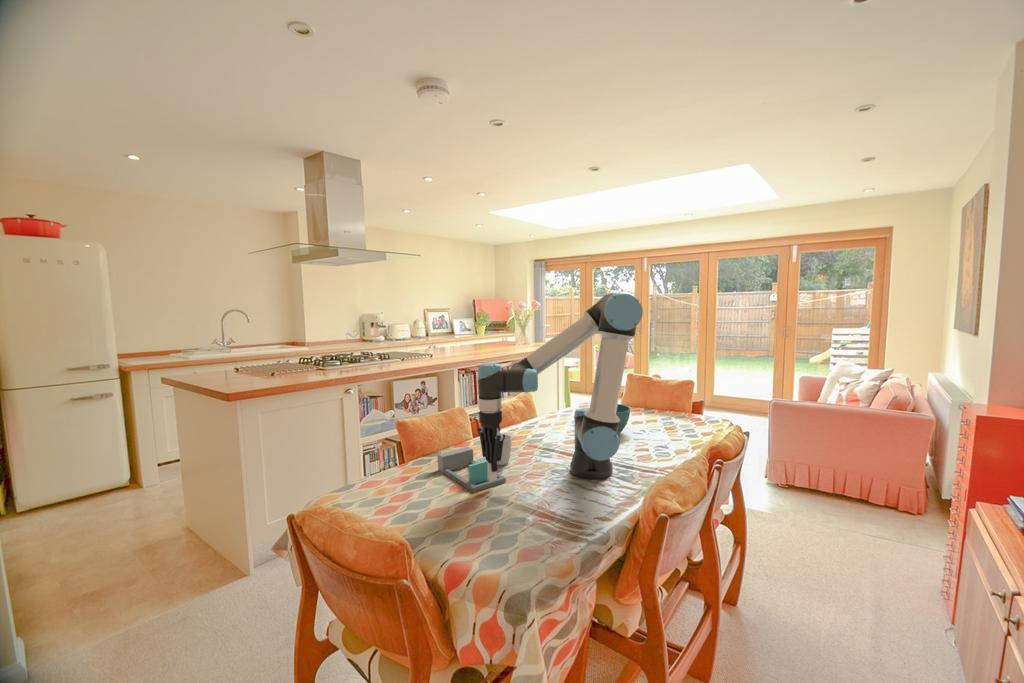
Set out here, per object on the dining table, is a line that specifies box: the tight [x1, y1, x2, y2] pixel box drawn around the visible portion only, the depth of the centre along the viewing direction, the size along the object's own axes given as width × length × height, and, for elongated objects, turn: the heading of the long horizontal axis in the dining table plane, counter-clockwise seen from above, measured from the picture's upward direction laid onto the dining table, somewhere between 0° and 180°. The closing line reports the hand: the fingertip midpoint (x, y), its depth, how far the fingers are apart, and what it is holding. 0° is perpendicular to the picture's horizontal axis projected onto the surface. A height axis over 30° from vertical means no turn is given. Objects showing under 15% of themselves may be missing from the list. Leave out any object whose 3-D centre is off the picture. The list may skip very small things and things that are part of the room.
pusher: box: [467, 459, 488, 485], centre depth 152 cm, size 5×9×7 cm, turn 126°
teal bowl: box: [616, 403, 631, 436], centre depth 202 cm, size 18×18×12 cm
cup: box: [497, 433, 513, 466], centre depth 168 cm, size 8×8×10 cm
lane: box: [437, 446, 507, 493], centre depth 157 cm, size 26×13×6 cm, turn 36°
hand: (492, 479), depth 145 cm, fingers closed
